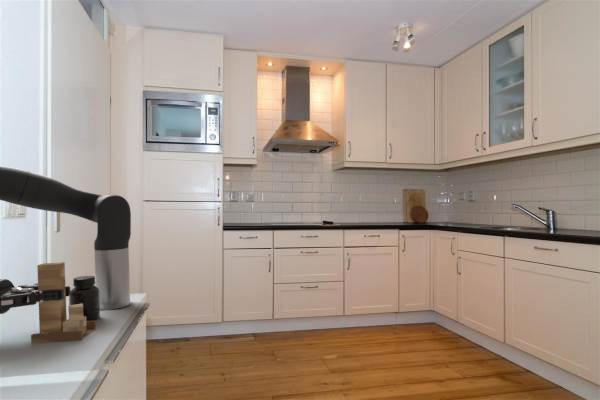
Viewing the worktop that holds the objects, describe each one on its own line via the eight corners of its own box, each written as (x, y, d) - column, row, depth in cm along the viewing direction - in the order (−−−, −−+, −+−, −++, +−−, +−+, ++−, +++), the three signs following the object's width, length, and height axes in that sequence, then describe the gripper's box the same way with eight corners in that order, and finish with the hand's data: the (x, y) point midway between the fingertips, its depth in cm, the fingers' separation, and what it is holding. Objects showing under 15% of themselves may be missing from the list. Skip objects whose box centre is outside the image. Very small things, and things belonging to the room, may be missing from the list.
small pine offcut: (68, 318, 87) (68, 305, 87) (82, 316, 89) (82, 303, 89) (68, 322, 84) (68, 308, 84) (83, 319, 86) (83, 306, 86)
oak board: (45, 329, 87) (43, 263, 87) (66, 328, 88) (64, 262, 88) (39, 333, 85) (37, 265, 85) (61, 331, 85) (59, 264, 85)
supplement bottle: (65, 330, 94) (64, 281, 94) (74, 321, 101) (72, 276, 101) (96, 326, 96) (95, 278, 96) (103, 318, 102) (101, 273, 102)
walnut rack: (51, 336, 90) (50, 323, 90) (96, 333, 91) (95, 320, 91) (31, 349, 82) (30, 335, 82) (81, 345, 83) (80, 331, 83)
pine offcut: (71, 332, 88) (71, 317, 88) (86, 331, 88) (86, 316, 88) (63, 338, 84) (62, 322, 84) (78, 337, 84) (78, 321, 84)
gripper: (-43, 287, 78) (49, 282, 80) (2, 274, 91) (79, 270, 93) (-41, 324, 78) (50, 318, 80) (3, 305, 91) (80, 301, 93)
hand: (66, 292), depth 86 cm, fingers closed on oak board, 2 cm apart
